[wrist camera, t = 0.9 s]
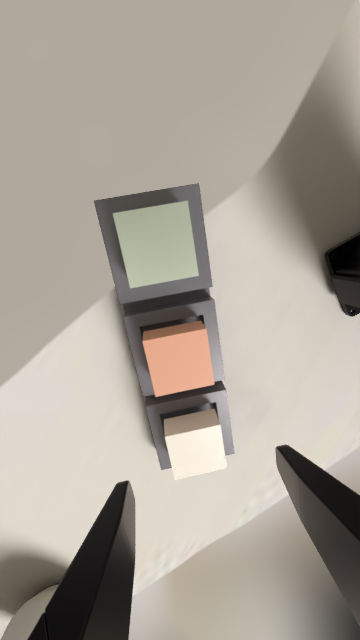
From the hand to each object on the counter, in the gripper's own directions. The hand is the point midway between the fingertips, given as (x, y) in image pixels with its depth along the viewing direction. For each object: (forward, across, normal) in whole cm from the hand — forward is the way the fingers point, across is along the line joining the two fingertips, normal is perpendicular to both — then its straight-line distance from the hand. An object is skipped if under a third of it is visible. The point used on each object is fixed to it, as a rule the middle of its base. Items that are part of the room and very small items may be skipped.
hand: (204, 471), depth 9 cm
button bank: (+13, 0, 0) cm, 13 cm away
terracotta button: (+11, 0, 0) cm, 11 cm away
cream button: (+11, 0, +8) cm, 13 cm away
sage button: (+11, 0, -8) cm, 13 cm away
